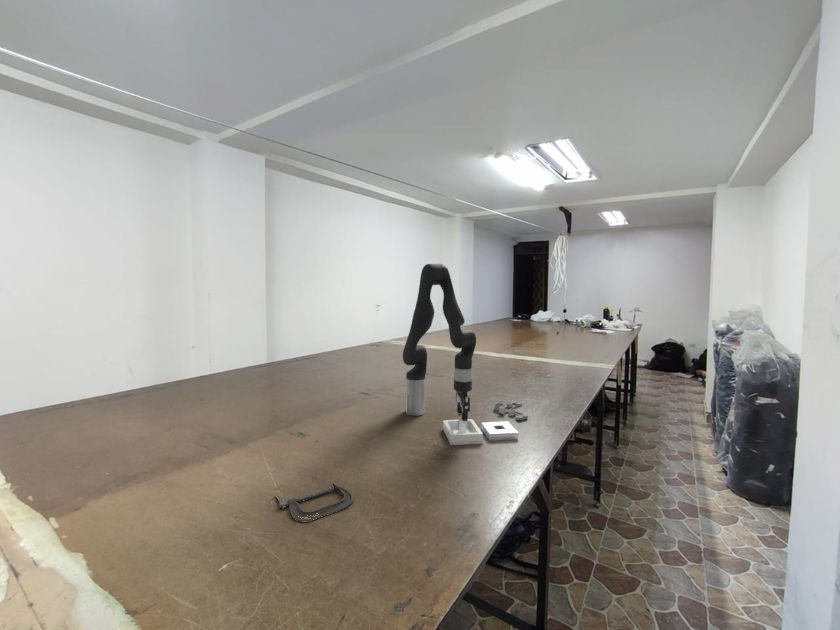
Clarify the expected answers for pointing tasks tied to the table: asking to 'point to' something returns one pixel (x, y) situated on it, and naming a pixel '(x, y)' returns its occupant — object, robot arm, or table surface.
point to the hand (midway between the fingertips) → (462, 416)
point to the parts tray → (455, 438)
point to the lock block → (499, 431)
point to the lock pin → (461, 424)
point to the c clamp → (334, 507)
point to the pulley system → (501, 409)
